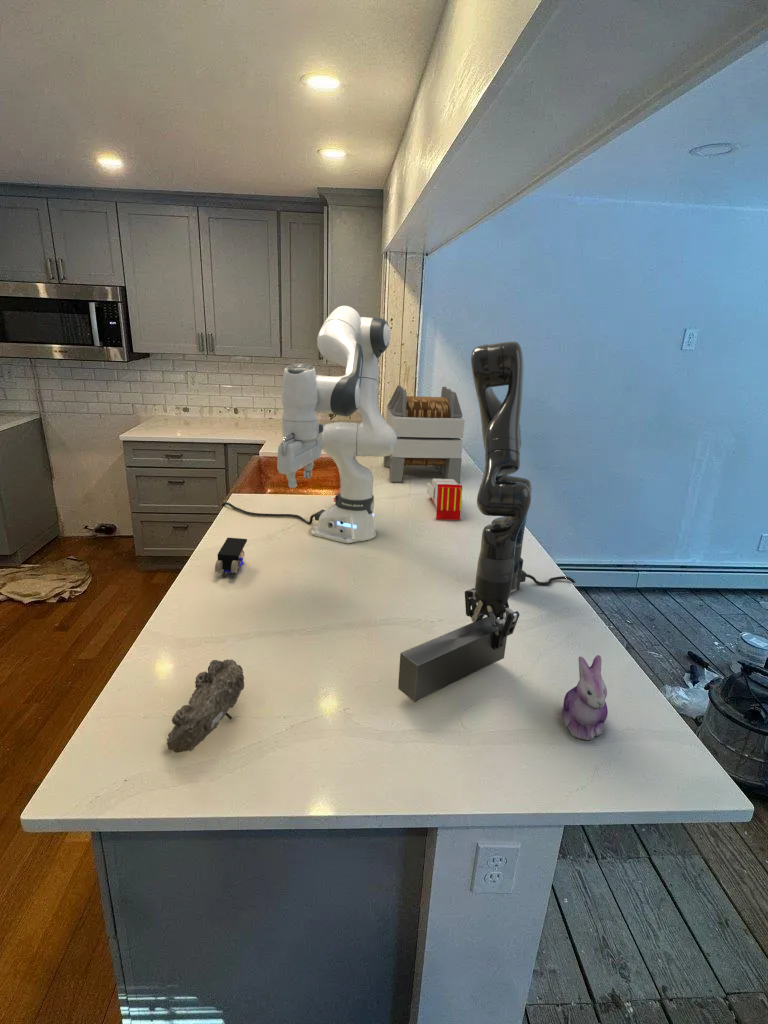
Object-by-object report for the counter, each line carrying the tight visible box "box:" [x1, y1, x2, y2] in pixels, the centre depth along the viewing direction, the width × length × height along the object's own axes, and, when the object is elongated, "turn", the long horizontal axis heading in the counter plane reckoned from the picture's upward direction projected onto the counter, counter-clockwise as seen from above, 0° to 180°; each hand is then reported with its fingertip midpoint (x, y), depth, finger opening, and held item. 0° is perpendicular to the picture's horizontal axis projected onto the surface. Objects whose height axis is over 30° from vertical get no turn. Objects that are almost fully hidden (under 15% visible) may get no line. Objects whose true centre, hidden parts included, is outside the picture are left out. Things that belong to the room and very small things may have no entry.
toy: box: [426, 478, 463, 521], centre depth 226 cm, size 12×13×30 cm
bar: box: [397, 615, 508, 703], centre depth 119 cm, size 26×5×8 cm, turn 128°
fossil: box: [166, 658, 245, 754], centre depth 106 cm, size 22×10×15 cm
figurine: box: [561, 654, 609, 741], centre depth 108 cm, size 9×10×15 cm
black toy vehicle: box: [214, 537, 248, 578], centre depth 166 cm, size 7×8×15 cm
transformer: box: [383, 384, 465, 484], centre depth 268 cm, size 34×33×41 cm
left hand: (300, 482), depth 148 cm, fingers open, 8 cm apart
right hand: (486, 641), depth 125 cm, fingers closed on bar, 5 cm apart
